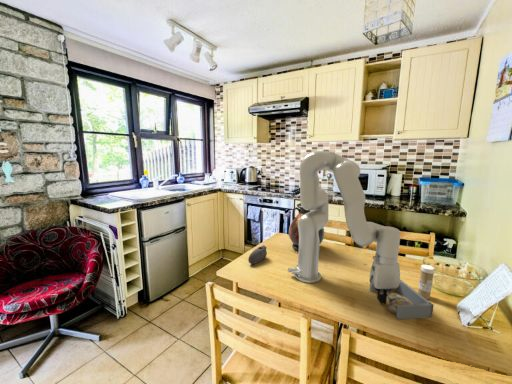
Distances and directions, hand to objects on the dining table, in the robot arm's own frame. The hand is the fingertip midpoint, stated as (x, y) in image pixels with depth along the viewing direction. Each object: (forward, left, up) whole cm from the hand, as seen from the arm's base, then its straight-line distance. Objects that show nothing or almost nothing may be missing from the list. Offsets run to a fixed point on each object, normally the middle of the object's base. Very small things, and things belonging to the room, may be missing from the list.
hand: (381, 301), depth 96 cm
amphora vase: (-14, +56, -1) cm, 57 cm away
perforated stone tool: (-45, +41, -1) cm, 61 cm away
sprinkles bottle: (+21, +3, -1) cm, 21 cm away
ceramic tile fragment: (+6, -3, -1) cm, 7 cm away
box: (+7, 0, -1) cm, 7 cm away
